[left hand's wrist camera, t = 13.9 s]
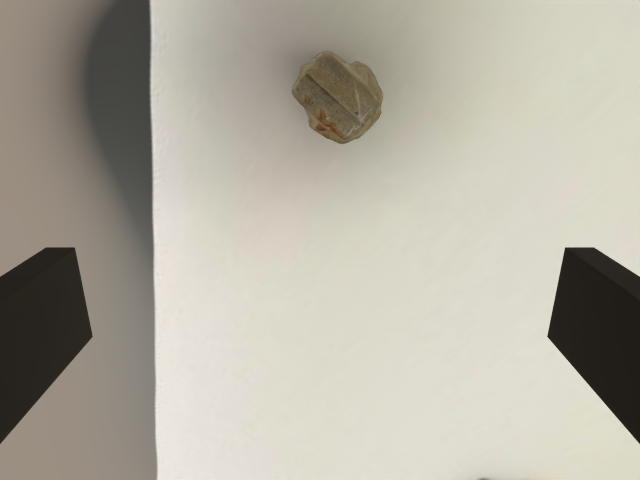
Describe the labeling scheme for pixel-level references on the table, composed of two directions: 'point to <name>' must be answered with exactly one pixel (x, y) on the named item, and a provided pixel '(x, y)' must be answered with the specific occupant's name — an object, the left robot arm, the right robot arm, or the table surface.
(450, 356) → the table surface
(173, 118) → the table surface
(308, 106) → the sculpture
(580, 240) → the table surface
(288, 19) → the table surface
